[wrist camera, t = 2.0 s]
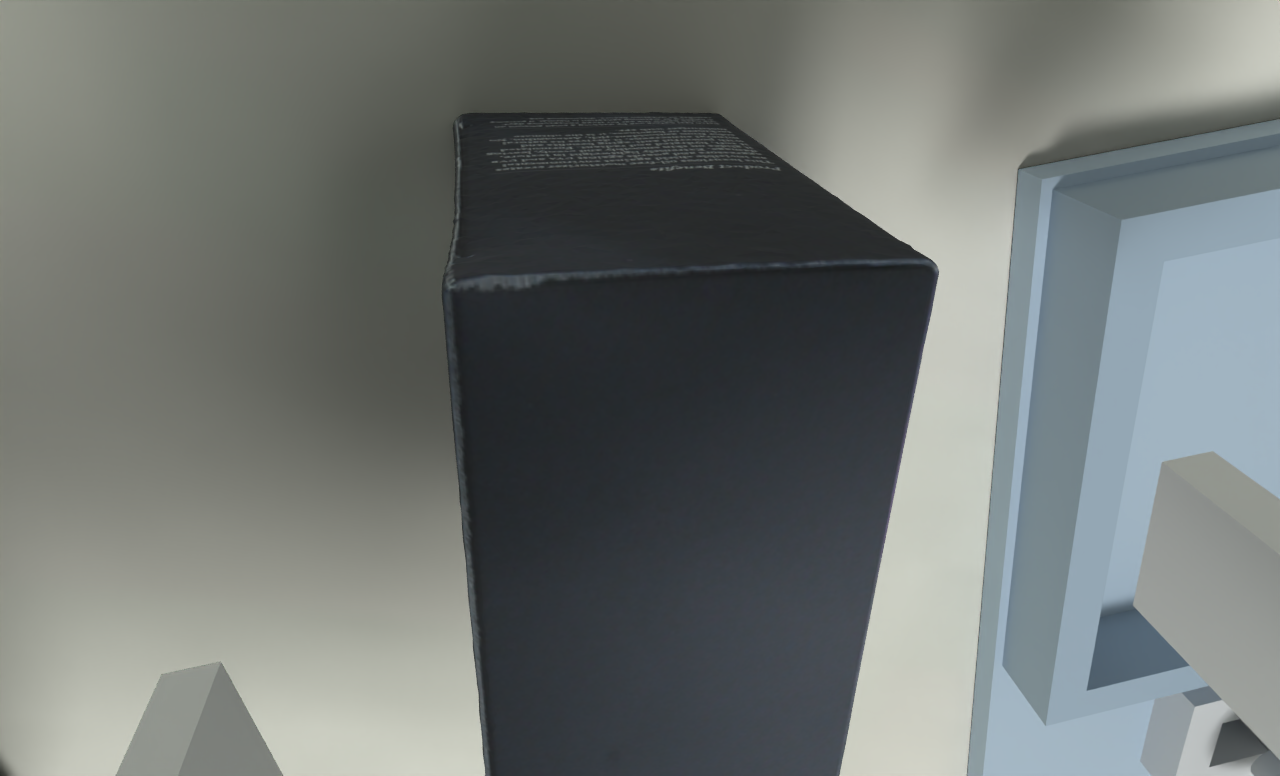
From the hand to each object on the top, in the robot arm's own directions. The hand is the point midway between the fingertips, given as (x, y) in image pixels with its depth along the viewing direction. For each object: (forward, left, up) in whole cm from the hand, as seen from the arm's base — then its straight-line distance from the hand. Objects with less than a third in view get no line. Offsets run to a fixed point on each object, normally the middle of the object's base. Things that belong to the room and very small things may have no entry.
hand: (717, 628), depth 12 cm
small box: (0, 0, -11) cm, 11 cm away
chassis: (+20, -11, -11) cm, 25 cm away
